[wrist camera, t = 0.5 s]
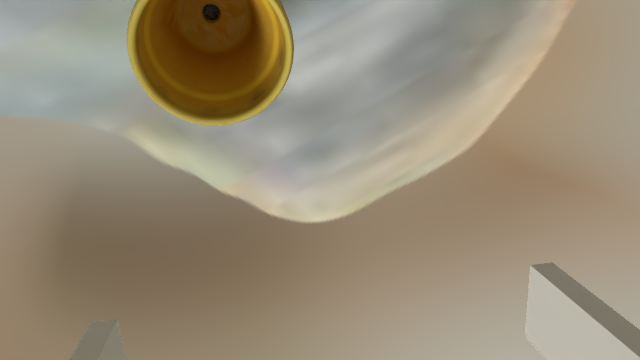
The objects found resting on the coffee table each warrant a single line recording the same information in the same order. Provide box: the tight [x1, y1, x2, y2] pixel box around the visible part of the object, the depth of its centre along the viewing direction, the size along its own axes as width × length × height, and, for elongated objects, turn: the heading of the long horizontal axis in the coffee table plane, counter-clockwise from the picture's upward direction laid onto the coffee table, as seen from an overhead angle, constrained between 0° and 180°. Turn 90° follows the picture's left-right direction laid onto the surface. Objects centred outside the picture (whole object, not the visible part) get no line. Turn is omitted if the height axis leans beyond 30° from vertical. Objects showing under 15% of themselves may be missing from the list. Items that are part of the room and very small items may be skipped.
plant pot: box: [127, 0, 294, 126], centre depth 33 cm, size 10×10×10 cm
